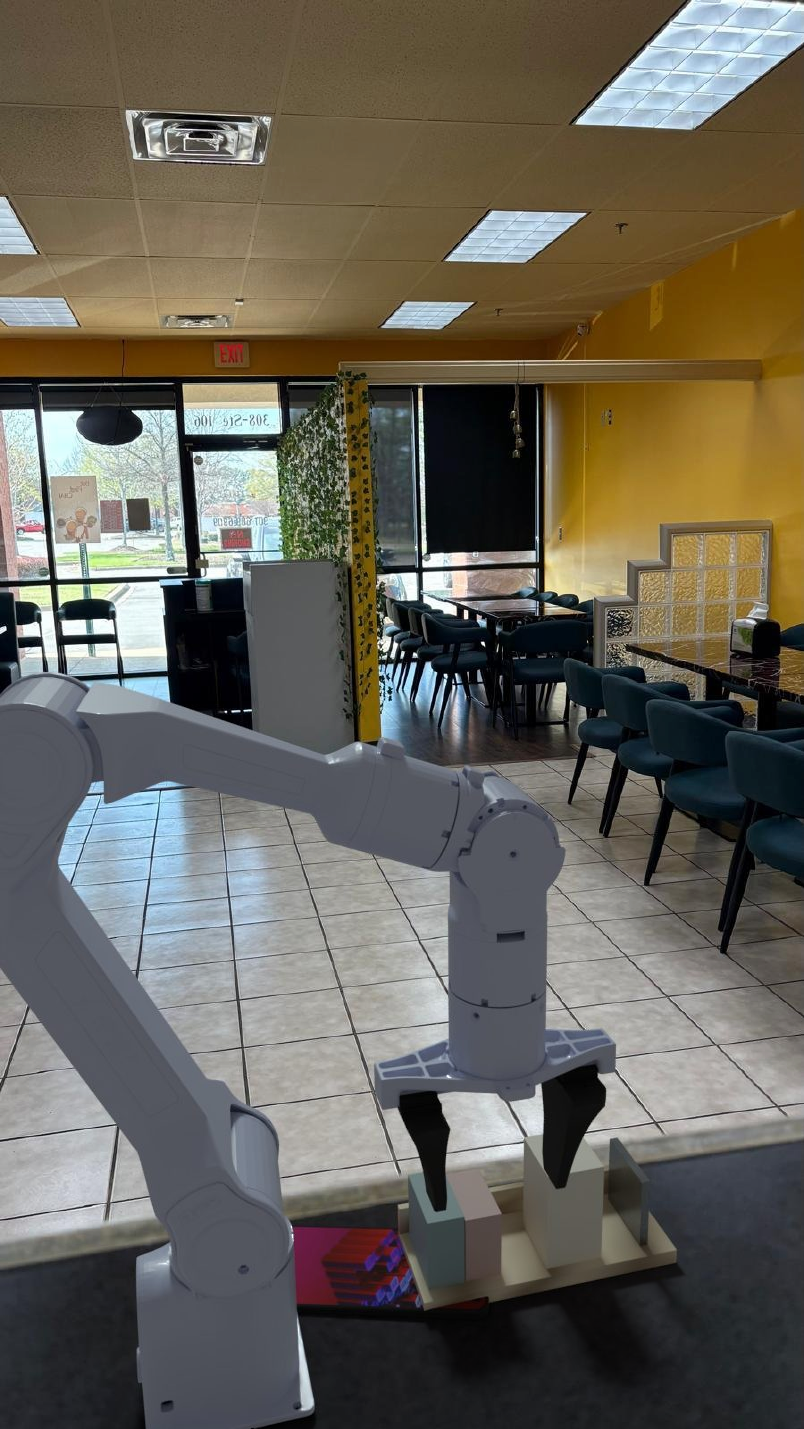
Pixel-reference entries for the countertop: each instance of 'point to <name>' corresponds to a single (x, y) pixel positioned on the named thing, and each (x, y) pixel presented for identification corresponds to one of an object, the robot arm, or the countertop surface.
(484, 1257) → the shelved books
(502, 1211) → the shelf board
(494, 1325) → the countertop surface
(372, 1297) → the smartphone
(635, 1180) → the bookend
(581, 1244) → the book
